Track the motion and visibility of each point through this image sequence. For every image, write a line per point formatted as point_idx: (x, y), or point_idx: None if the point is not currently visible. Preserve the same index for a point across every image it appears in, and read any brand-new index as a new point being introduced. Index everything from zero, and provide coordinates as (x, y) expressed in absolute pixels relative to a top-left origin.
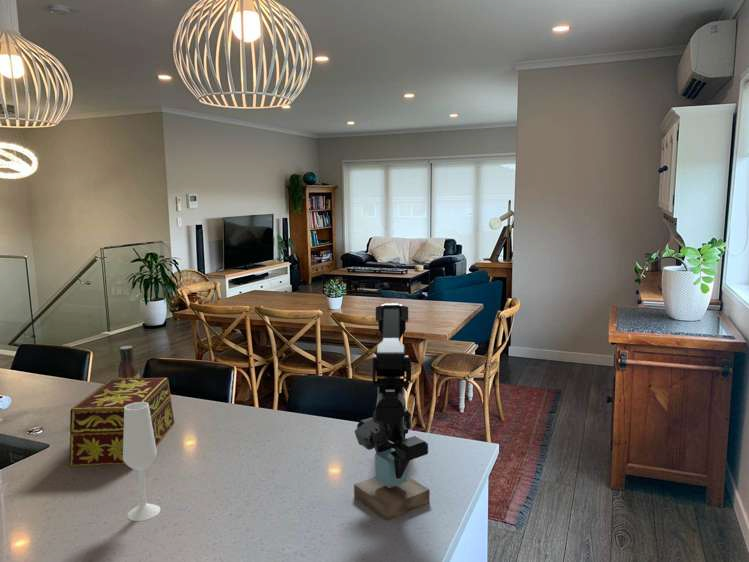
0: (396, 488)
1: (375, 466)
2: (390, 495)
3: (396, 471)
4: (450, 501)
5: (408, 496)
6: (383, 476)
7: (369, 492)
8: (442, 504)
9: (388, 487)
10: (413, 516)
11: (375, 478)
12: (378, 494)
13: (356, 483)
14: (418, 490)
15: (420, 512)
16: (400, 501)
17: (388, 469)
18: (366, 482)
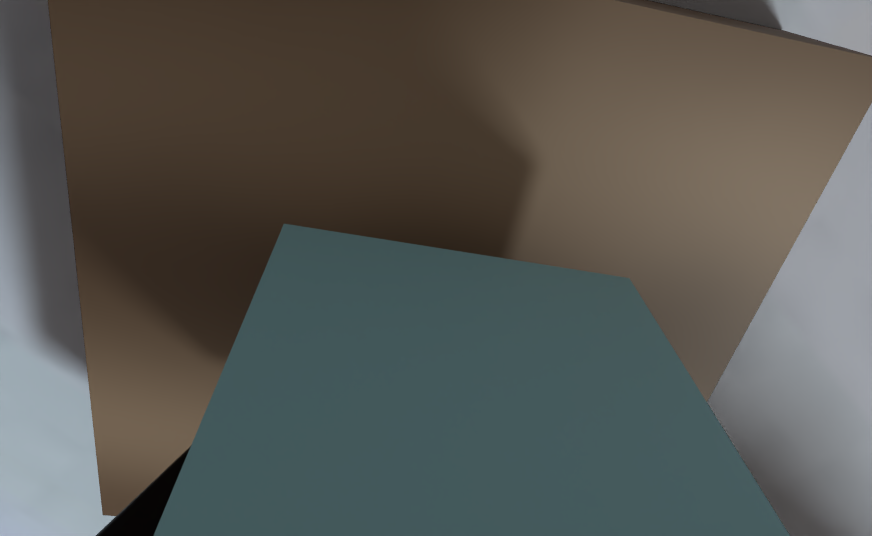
0: None
1: (718, 428)
2: (277, 182)
3: (152, 524)
4: (67, 507)
5: (110, 306)
6: (433, 324)
7: (557, 38)
8: (64, 451)
9: (299, 228)
10: (32, 171)
11: (631, 284)
12: (413, 87)
13: (869, 102)
14: (154, 448)
15: (59, 265)
16: (67, 160)
17: (208, 469)
18: (751, 215)
